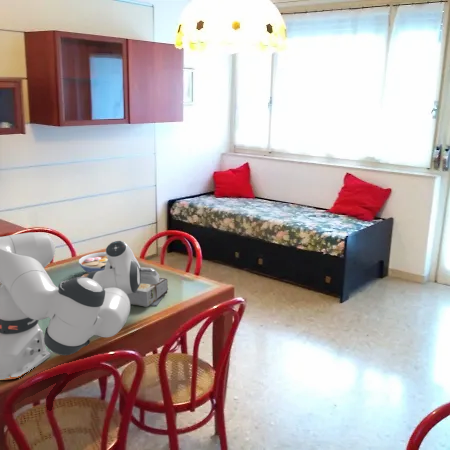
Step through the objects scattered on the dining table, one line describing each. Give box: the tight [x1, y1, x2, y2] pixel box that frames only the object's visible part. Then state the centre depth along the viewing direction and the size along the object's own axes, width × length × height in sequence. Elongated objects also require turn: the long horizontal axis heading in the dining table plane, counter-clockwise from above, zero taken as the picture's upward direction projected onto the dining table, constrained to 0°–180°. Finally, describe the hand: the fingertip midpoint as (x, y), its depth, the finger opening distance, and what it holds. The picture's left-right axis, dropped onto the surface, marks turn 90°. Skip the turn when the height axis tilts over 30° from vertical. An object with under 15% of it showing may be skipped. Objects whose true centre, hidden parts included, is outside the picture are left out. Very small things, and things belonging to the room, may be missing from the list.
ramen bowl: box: [78, 251, 108, 274], centre depth 235 cm, size 25×23×8 cm
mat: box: [130, 288, 169, 307], centre depth 211 cm, size 18×16×1 cm
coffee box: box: [127, 277, 169, 308], centre depth 206 cm, size 9×6×16 cm
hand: (136, 284), depth 201 cm, fingers closed
